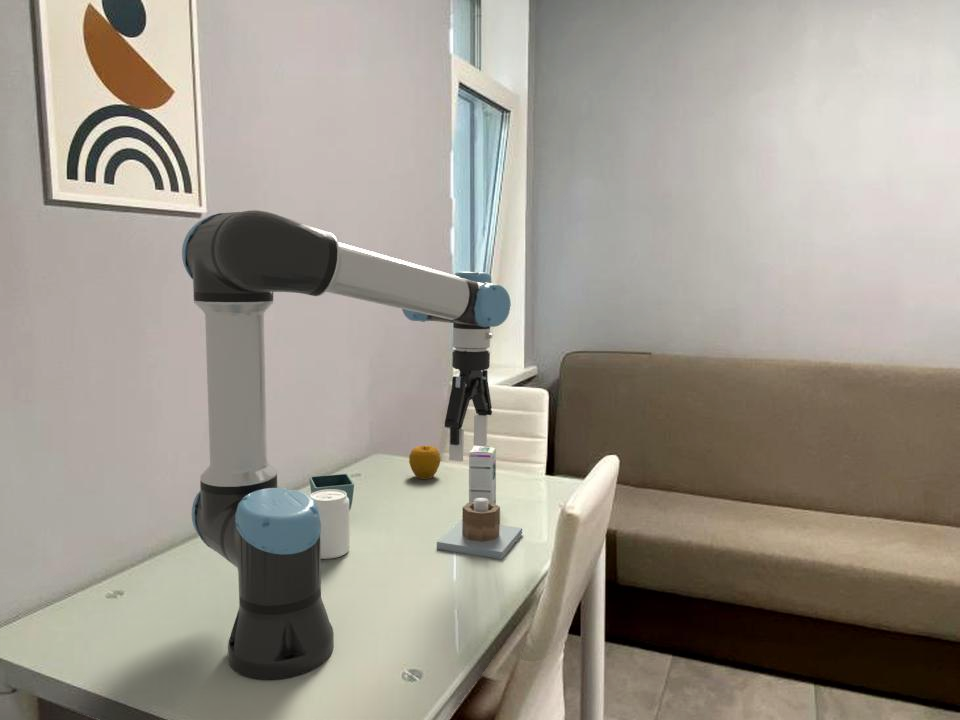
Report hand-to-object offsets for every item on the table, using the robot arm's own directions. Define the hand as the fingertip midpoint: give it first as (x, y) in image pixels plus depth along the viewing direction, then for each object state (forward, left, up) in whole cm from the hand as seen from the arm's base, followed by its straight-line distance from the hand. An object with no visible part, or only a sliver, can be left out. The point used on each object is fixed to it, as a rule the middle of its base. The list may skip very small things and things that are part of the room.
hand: (468, 452), depth 144 cm
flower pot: (+3, +34, -20) cm, 40 cm away
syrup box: (+22, +5, -20) cm, 30 cm away
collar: (+3, -2, -18) cm, 18 cm away
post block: (+3, -2, -20) cm, 20 cm away
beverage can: (-14, +24, -20) cm, 34 cm away
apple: (+40, +28, -20) cm, 52 cm away
